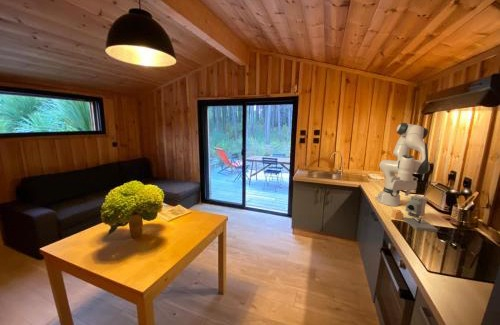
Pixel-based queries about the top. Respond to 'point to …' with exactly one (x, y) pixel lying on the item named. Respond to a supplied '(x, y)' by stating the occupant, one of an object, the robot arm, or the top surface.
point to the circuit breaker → (416, 206)
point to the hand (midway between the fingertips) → (401, 195)
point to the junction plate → (420, 224)
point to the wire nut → (397, 215)
